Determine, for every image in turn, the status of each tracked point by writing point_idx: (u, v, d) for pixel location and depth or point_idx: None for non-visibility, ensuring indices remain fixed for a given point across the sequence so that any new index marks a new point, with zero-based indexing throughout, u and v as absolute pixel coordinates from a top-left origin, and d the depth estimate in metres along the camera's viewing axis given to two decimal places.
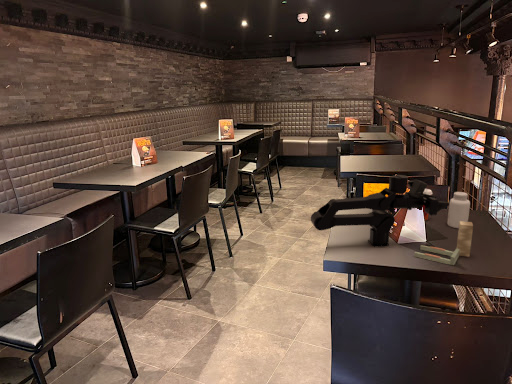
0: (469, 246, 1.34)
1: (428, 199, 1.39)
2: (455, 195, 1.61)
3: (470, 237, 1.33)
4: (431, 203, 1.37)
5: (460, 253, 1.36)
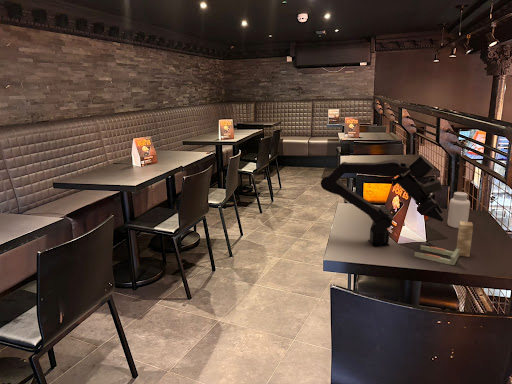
0: (469, 246, 1.34)
1: (429, 198, 1.31)
2: (455, 195, 1.61)
3: (470, 237, 1.33)
4: (427, 201, 1.29)
5: (460, 253, 1.36)
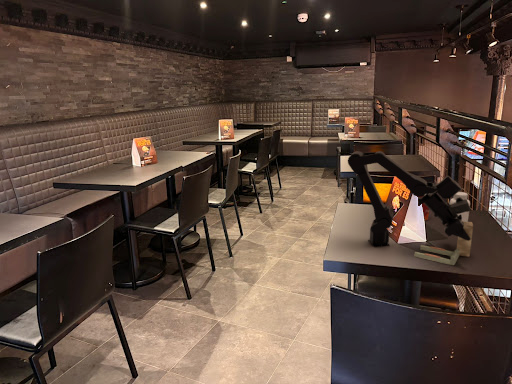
0: (469, 246, 1.34)
1: (457, 219, 1.29)
2: (455, 195, 1.61)
3: (470, 237, 1.33)
4: (455, 223, 1.27)
5: (460, 253, 1.36)
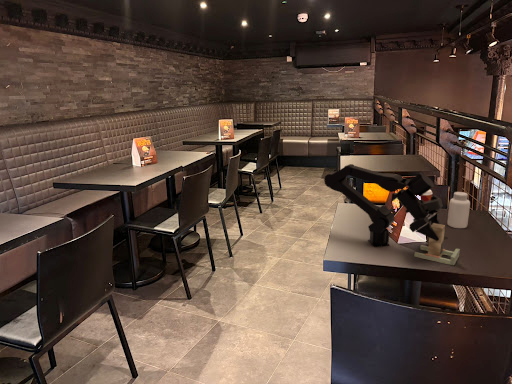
0: (439, 249, 1.33)
1: (422, 216, 1.29)
2: (455, 195, 1.61)
3: (440, 240, 1.32)
4: (418, 219, 1.28)
5: None
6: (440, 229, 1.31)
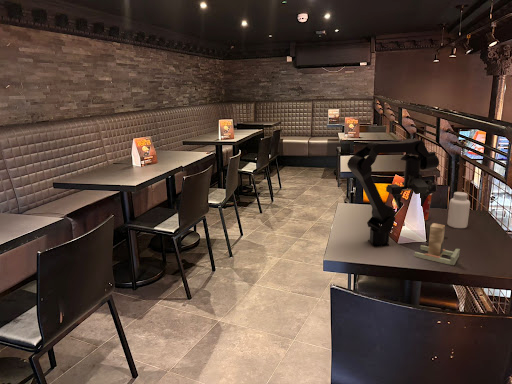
0: (439, 249, 1.33)
1: (398, 188, 1.45)
2: (455, 195, 1.61)
3: (440, 240, 1.32)
4: (391, 187, 1.45)
5: None
6: (440, 229, 1.31)
